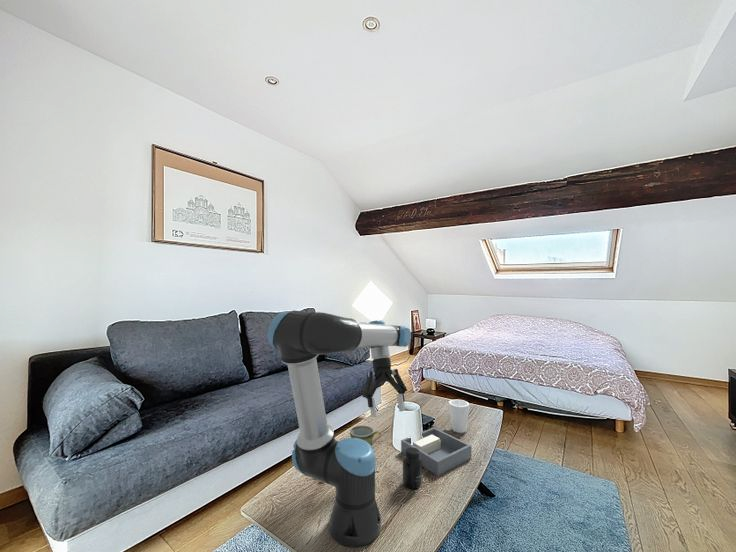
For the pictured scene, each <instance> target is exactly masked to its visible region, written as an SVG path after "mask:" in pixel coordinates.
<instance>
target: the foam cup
mask: <svg viewBox="0 0 736 552" xmlns="http://www.w3.org/2000/svg"><path fill="white" fill-rule="evenodd" d="M448 408H449V412H450V413H449V415H450V419H451V422H450V423H451V426H452V431H453V432H455V433H458V434H463V433H466V432H467V425H468V419H469V418H468V417H469V410H470V403H469V402H468V401H466V400H463V399H451V400H449V401H448Z"/></svg>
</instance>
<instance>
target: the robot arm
mask: <svg viewBox="0 0 736 552" xmlns="http://www.w3.org/2000/svg"><path fill="white" fill-rule="evenodd" d="M271 321H272V322H271V323H270V324H269V327H268V331H267V339H268V342H269V344H270V346H271V347H272V348H273V349H274V350H278V352H279V356H280V362H282V363H283V364H285V365H286V366H287V368H288V375H289V380H290V386H291V391H292V396H293V397H292V398H293V402H294V407H295V411H296V417H297V423H298V429H299V433H298V435H297V438H296V440H295V442H294V443H293V450H292V451H291V460H292V464H293V466H294V468H295V470H297V472H299V473H300V474H302V475H304V476H306V477H309V478H312V479H315V480H317V481H320V482H321V481H322V482H324V484H327V485H329V486H332V487H334V488H335V501H334V504H333V508H332V511H331V513H330V516H329V517H330V518H329V533H330V535H331V537H332V538H333V539H334V540H335V541H336V542H337V543H338V544H340V545H342V546H345V547H352V548H356V547H357V548H359V547H363V546H366V545H368V544H370V543H372V542H373V541H375V540H376V539H377V538H378V536H379V535H380V532H381V530H382V516H381V513H380V509H379V507H378V503H377V500H376V465H377V464H376V457H375V451H374V448H373V446H371V445H370V444H369V443H367V442H366V441H364V440H362V439H359V438H353V439H352V438H351V437H345V438H342V439H340V440H337V439H336V437H335V432H334V429H333V427H332V426H331V425H330V424H328V421H327V415H326V409H325V402H324V396H323V390H322V384H321V379H320V374H319V373H320V372H319V367H318V361H317V358H318V357H319V355H320V356H321V355H329V354H330V355H332V354H338V353H339V354H340V353H348V352H354V351H355V350H357V349H359V348H370V354H371V359H372V361H371V364H372V368H373V371H372V370H370V371H368V372H366V380H365V381H366V382H365V384H364V388H363V392H362V395H361V396H362V398H365V399H367V407H368V408H369V410H370V417H371V418H372V417H377V409H376V400H375V397H373V396H374V394H375V392H376V390H377V389H378V386H379V384H380V383H384V382H387V383H389V384H390V385H391V386H392V387H393V389H394V390H395V391H396V392H397V393H398V394H396V397H397V404H398V412H406V408H405V403H404V402H405V394H406V392H407V391H408V388H407V387H406V386H407V385H405V383H404V381H403V379H402V378H401V376H400V374H399V370H398V369H397V368H394V369H392V362H391V358H390V355H391V354H390V349H389V347H399V348H401V347H404V348H406V347H408V346H409V345H410V343H411V339H412V331H411V329H410V328H409V327H408V326H403V325H394V324H393V325H391V324H386V323H385V321H383V320H378V319H377V320H372V321H369V322H358V321H357V320H356V319H354V318H348V317H343V316H340V315H337V314H332V313H327V312H320V311H317V312H316V311H302V310H300V311H299V310H295V309H293V310H284V311H282V312H279V313H278V314H276V316H275V317H274V318H273V319H272V320H271ZM373 378H374V379H373ZM372 382H373V383H372Z"/></svg>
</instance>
